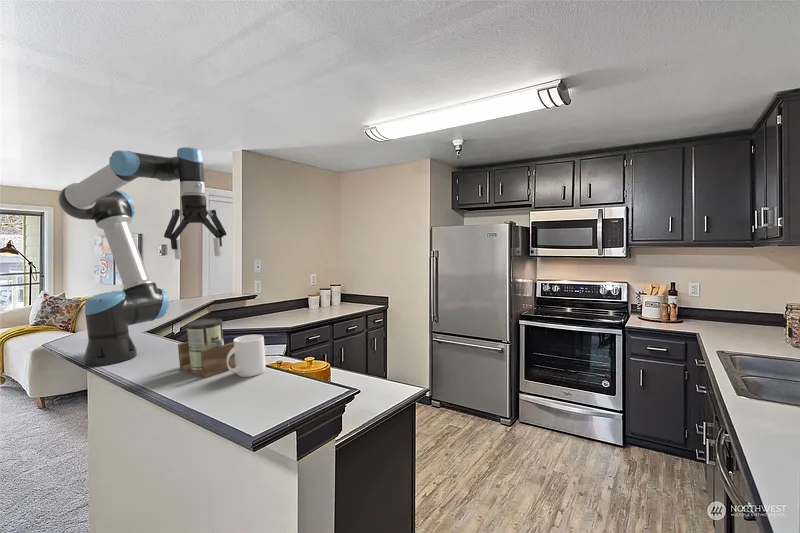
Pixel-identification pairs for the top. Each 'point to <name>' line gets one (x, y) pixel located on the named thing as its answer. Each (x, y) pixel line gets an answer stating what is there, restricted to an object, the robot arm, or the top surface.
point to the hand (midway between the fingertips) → (198, 257)
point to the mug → (248, 355)
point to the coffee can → (202, 338)
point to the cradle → (208, 359)
